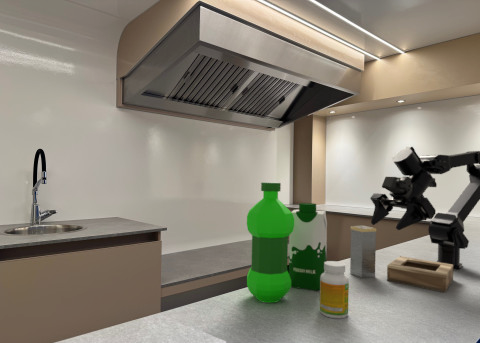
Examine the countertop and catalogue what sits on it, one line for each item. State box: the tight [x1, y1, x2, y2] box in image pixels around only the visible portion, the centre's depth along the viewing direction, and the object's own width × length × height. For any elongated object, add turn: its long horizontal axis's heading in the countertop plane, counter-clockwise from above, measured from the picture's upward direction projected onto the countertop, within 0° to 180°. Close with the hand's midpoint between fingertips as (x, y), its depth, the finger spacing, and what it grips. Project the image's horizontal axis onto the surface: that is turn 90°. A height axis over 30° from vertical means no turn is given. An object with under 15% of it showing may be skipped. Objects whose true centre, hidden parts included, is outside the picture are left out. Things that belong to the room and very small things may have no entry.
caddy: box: [386, 255, 454, 294], centre depth 88 cm, size 13×13×4 cm
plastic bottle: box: [246, 182, 294, 304], centre depth 73 cm, size 10×10×25 cm
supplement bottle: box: [319, 260, 350, 319], centre depth 66 cm, size 5×5×10 cm
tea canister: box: [349, 225, 378, 279], centre depth 91 cm, size 5×5×13 cm
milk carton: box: [288, 202, 328, 292], centre depth 83 cm, size 9×9×20 cm
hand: (384, 226), depth 94 cm, fingers open, 9 cm apart
